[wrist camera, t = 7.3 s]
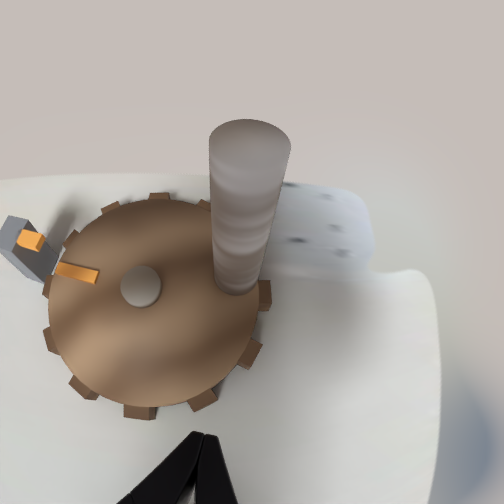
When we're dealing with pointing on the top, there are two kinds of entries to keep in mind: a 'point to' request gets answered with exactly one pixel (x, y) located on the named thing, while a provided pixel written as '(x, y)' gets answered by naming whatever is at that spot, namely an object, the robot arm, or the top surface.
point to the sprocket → (171, 282)
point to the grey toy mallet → (26, 249)
